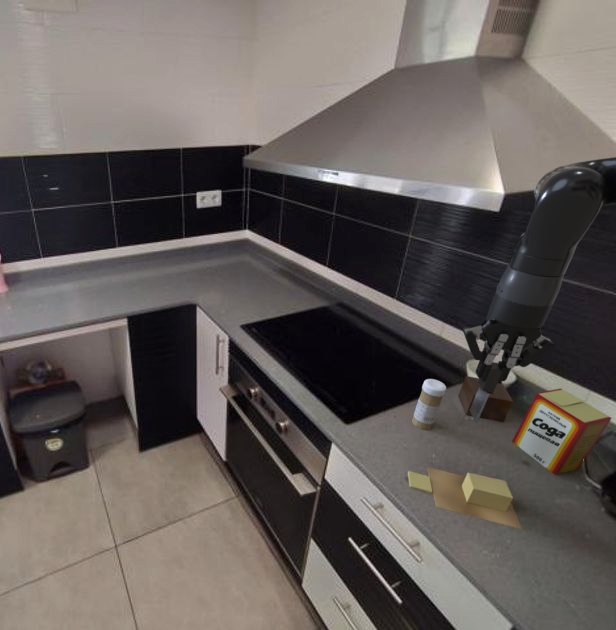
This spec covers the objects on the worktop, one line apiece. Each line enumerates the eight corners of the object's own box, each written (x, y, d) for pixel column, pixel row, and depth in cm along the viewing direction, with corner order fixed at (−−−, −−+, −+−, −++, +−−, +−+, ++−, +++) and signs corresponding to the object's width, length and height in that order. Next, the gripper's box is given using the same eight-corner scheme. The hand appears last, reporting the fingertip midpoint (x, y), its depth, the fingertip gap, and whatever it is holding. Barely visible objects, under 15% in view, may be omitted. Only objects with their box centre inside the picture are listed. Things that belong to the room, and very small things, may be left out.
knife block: (490, 406, 101) (501, 381, 97) (501, 426, 94) (513, 401, 90) (456, 399, 103) (465, 375, 99) (463, 419, 96) (474, 394, 93)
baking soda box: (575, 473, 81) (612, 416, 74) (551, 479, 80) (587, 422, 73) (531, 441, 90) (561, 387, 82) (509, 446, 88) (537, 391, 81)
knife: (475, 411, 76) (497, 361, 70) (481, 423, 73) (504, 372, 67) (465, 409, 76) (485, 359, 71) (470, 421, 73) (492, 370, 68)
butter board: (501, 489, 78) (503, 485, 78) (520, 533, 70) (522, 529, 69) (425, 470, 82) (427, 466, 82) (434, 510, 74) (436, 506, 73)
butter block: (498, 494, 76) (505, 481, 74) (505, 512, 72) (513, 498, 70) (461, 485, 78) (467, 472, 76) (466, 502, 74) (473, 488, 72)
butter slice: (429, 476, 79) (408, 470, 80) (432, 492, 76) (410, 485, 77) (427, 481, 80) (406, 476, 81) (430, 497, 77) (408, 491, 78)
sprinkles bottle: (429, 424, 95) (445, 381, 89) (431, 437, 91) (448, 392, 85) (409, 419, 96) (423, 376, 90) (410, 431, 93) (425, 387, 87)
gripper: (483, 298, 62) (451, 384, 69) (589, 310, 58) (542, 399, 65) (469, 282, 68) (442, 362, 76) (564, 291, 64) (524, 375, 72)
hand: (488, 379), depth 71 cm, fingers closed on knife, 2 cm apart
